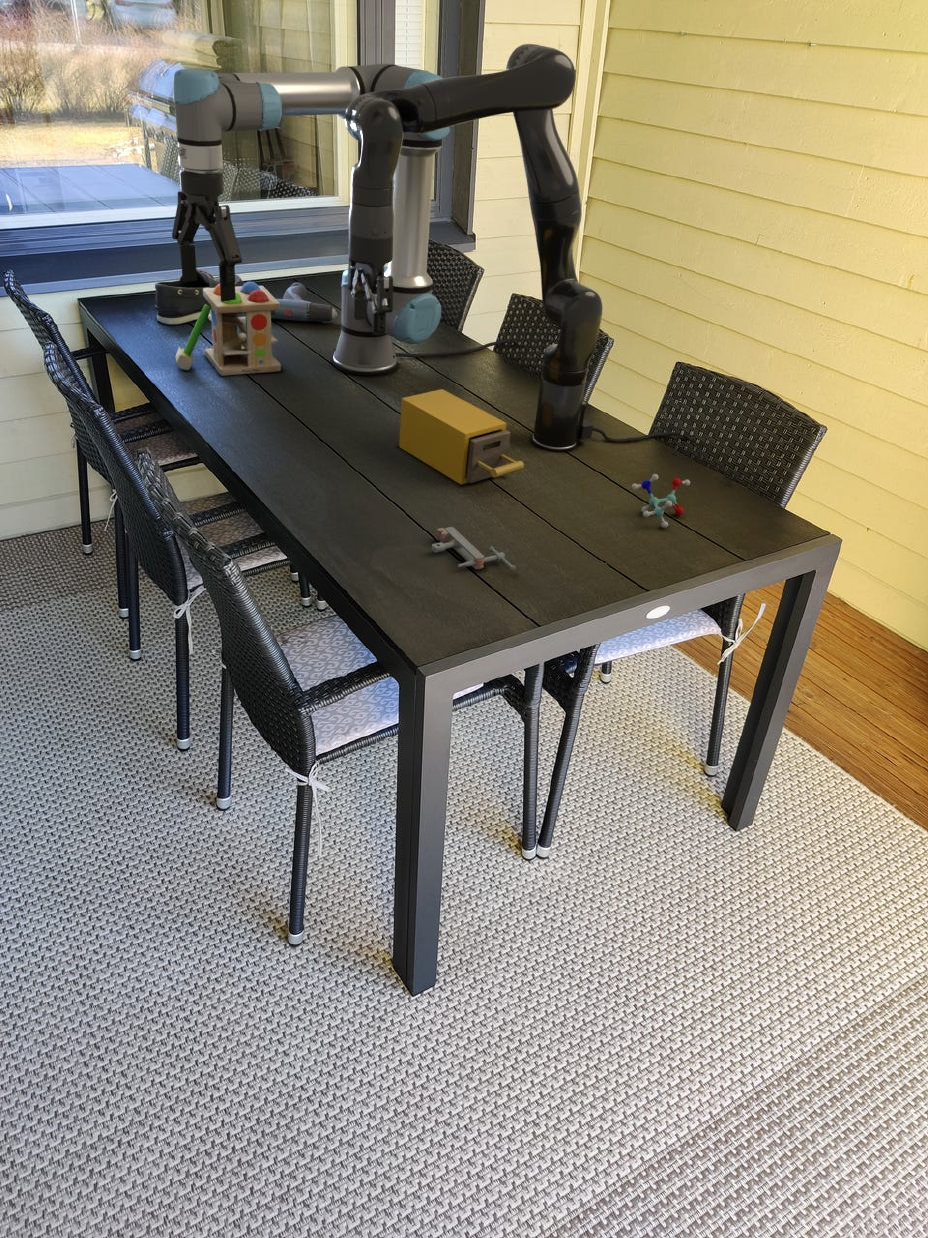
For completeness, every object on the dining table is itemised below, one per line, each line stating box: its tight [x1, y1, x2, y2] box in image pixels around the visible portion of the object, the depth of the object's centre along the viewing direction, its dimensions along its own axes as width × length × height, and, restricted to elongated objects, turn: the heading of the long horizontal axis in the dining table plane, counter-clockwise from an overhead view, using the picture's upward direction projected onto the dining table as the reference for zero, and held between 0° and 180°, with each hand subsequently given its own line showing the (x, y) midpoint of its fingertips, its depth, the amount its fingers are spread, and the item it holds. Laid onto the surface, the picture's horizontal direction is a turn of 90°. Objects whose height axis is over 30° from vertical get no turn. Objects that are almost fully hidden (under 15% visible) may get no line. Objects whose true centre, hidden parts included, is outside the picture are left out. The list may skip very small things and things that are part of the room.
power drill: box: [271, 282, 338, 322], centre depth 265 cm, size 5×19×20 cm
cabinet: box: [398, 388, 507, 485], centre depth 195 cm, size 20×10×10 cm, turn 40°
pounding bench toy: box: [174, 281, 282, 377], centre depth 225 cm, size 23×14×18 cm, turn 116°
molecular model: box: [631, 473, 691, 529], centre depth 183 cm, size 12×10×10 cm
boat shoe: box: [154, 268, 245, 325], centre depth 260 cm, size 13×33×10 cm, turn 147°
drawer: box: [466, 429, 525, 484], centre depth 192 cm, size 24×9×8 cm, turn 40°
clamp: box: [431, 526, 517, 572], centre depth 165 cm, size 15×2×10 cm
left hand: (208, 290), depth 186 cm, fingers open, 13 cm apart
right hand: (368, 326), depth 173 cm, fingers open, 8 cm apart
